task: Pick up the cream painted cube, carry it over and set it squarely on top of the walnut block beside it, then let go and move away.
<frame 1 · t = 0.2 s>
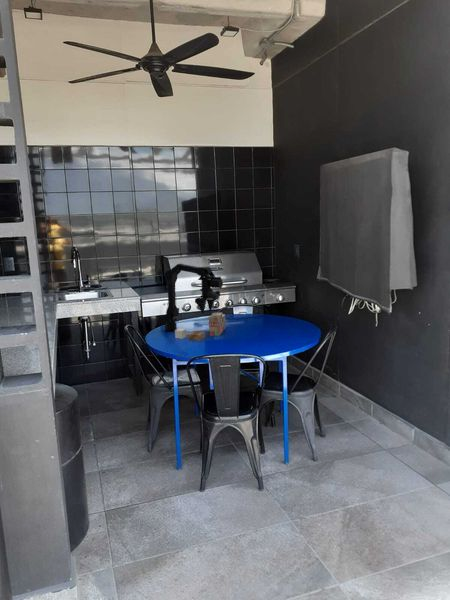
hand: (206, 311, 283), 14 cm above the table, tool pointing down, fingers open, 9 cm apart
cream cube: (180, 337, 280), on the table
stack of blocks: (217, 332, 292), on the table
walnut block: (196, 339, 276), on the table
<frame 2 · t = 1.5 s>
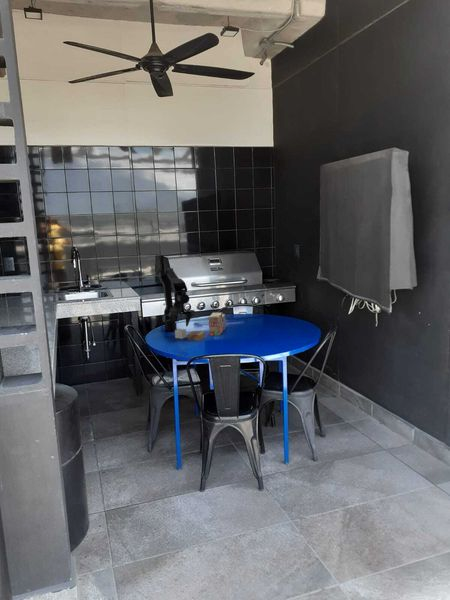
hand: (180, 325, 279), 7 cm above the table, tool pointing down, fingers open, 9 cm apart
nothing on the table moved.
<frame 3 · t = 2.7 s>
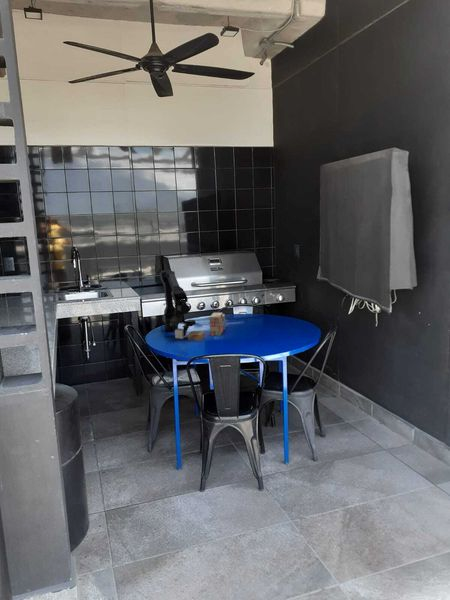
hand: (180, 335, 280), 1 cm above the table, tool pointing down, fingers closed on cream cube, 5 cm apart
cream cube: (180, 337, 280), on the table, touching gripper
everything else where it was.
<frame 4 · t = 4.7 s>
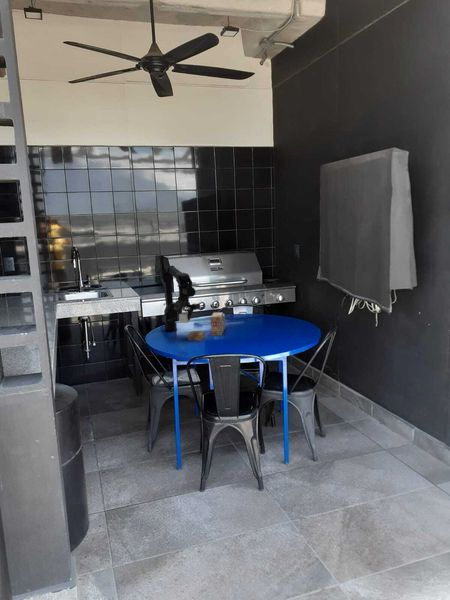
hand: (185, 319, 276), 11 cm above the table, tool pointing down, fingers closed on cream cube, 5 cm apart
cream cube: (185, 321, 276), point 10 cm above the table, touching gripper
everything else where it was.
when the fingers open (6 cm above the table, at t = 6.7 s): cream cube drops 2 cm, resting on walnut block.
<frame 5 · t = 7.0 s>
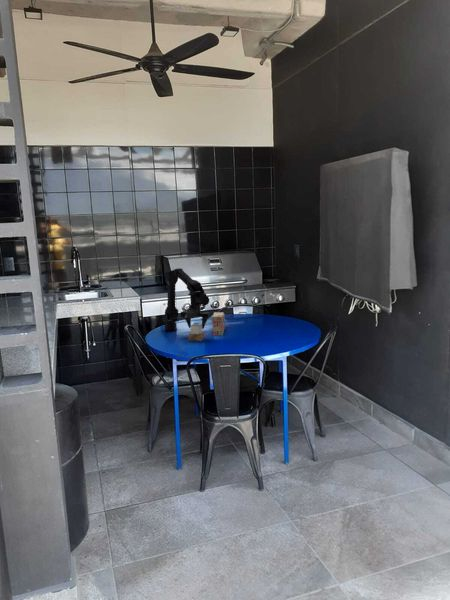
hand: (196, 328, 274), 6 cm above the table, tool pointing down, fingers open, 9 cm apart
cream cube: (196, 333, 275), point 4 cm above the table, touching walnut block
walnut block: (196, 339, 276), on the table, touching cream cube
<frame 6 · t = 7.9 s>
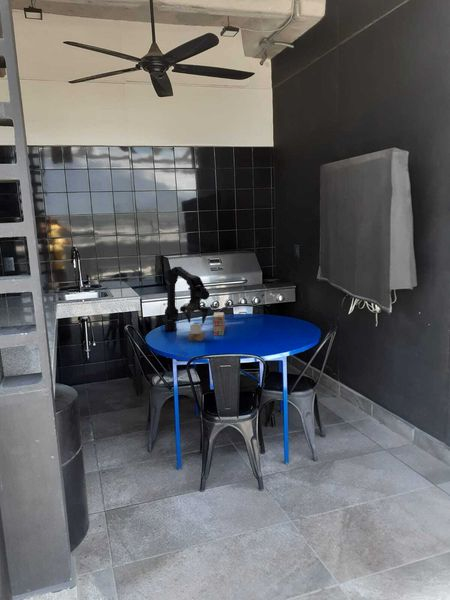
hand: (196, 323, 274), 10 cm above the table, tool pointing down, fingers open, 9 cm apart
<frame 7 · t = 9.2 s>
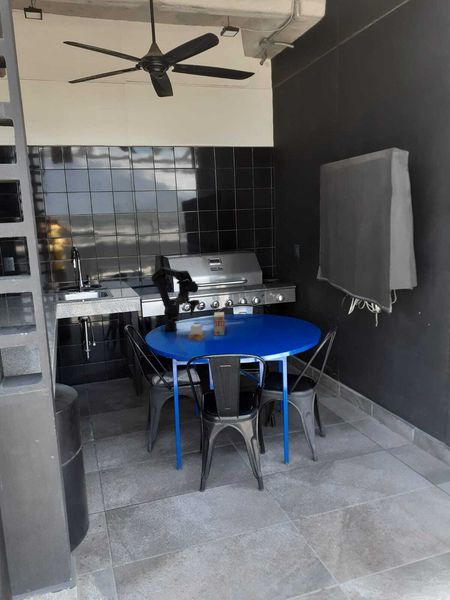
hand: (184, 315, 285), 12 cm above the table, tool pointing down, fingers open, 9 cm apart
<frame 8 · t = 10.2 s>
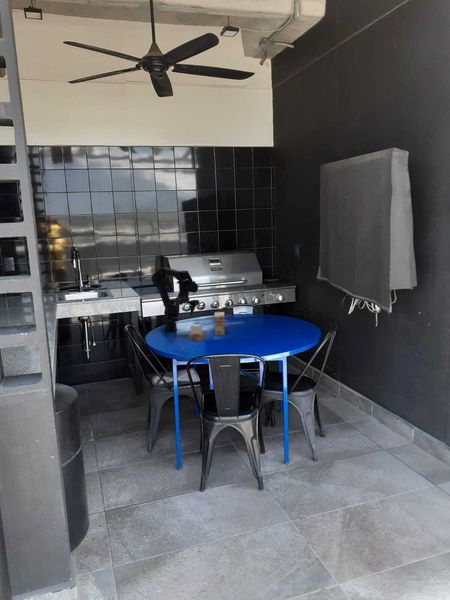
hand: (184, 315, 285), 12 cm above the table, tool pointing down, fingers open, 9 cm apart
at the end: cream cube 0.2 cm off-centre on the walnut block, point 4.0 cm above the walnut block's base; cream cube tilted 0°; the gripper is holding nothing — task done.
